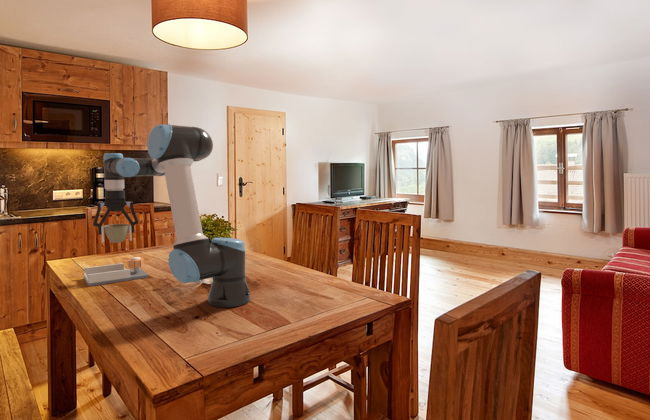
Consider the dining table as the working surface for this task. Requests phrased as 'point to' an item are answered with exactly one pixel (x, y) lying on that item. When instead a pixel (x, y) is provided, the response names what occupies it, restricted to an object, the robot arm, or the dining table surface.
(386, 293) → the dining table surface
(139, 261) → the wheel
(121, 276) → the chassis
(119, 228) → the flower pot
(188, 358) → the dining table surface
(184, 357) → the dining table surface
